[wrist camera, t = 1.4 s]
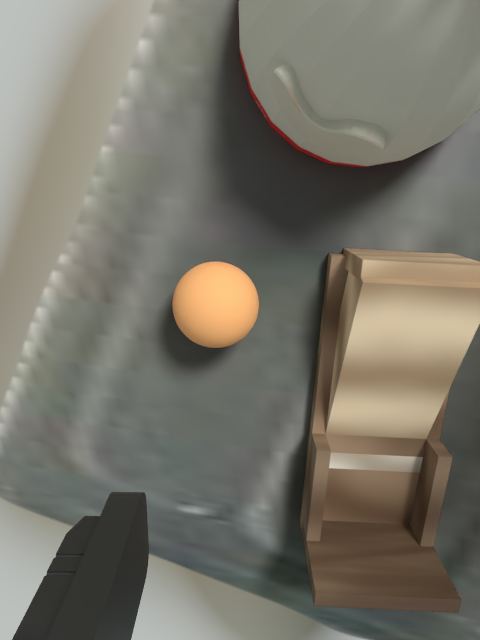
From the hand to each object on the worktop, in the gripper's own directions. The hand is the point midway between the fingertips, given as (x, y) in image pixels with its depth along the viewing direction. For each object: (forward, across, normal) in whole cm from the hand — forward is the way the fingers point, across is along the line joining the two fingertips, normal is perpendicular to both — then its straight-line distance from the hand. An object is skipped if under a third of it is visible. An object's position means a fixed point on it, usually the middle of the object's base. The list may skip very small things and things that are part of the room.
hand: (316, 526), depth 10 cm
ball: (+16, +3, -1) cm, 17 cm away
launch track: (+21, -8, +6) cm, 23 cm away
